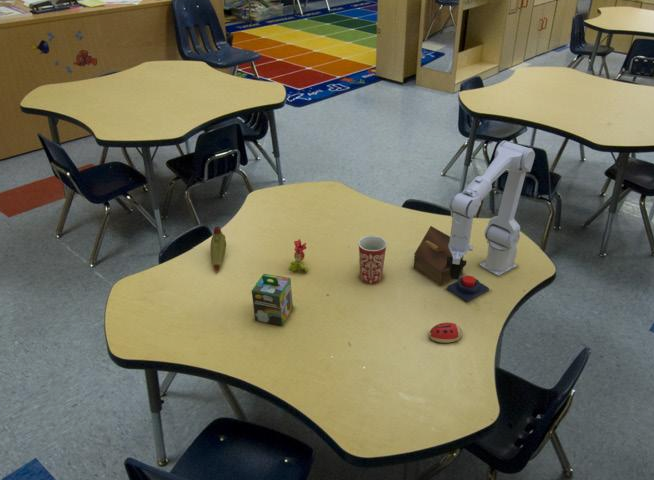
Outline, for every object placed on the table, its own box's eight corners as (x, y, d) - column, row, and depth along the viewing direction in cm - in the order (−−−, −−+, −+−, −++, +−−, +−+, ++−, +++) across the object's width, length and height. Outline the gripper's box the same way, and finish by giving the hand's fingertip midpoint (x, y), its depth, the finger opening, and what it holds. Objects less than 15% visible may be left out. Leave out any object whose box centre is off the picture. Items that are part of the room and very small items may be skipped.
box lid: (431, 226, 192) (425, 222, 189) (460, 242, 183) (453, 238, 181) (414, 254, 193) (408, 251, 190) (442, 272, 185) (436, 269, 182)
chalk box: (293, 308, 179) (291, 268, 171) (282, 326, 172) (279, 286, 164) (265, 302, 182) (262, 263, 174) (253, 320, 174) (249, 280, 167)
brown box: (435, 258, 201) (436, 245, 198) (462, 274, 192) (464, 261, 190) (413, 268, 196) (414, 255, 193) (440, 286, 187) (441, 272, 185)
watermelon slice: (466, 341, 165) (467, 331, 163) (433, 347, 163) (434, 337, 161) (456, 326, 171) (457, 316, 169) (424, 331, 169) (425, 322, 167)
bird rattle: (289, 268, 201) (288, 274, 192) (289, 236, 199) (287, 240, 190) (307, 268, 201) (307, 274, 192) (307, 236, 199) (306, 240, 190)
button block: (468, 278, 191) (469, 270, 189) (488, 290, 185) (489, 283, 183) (446, 289, 186) (447, 281, 184) (467, 302, 180) (468, 295, 178)
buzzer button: (468, 278, 186) (468, 273, 185) (477, 284, 183) (478, 279, 182) (459, 282, 184) (459, 278, 183) (469, 288, 181) (469, 284, 180)
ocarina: (224, 274, 195) (221, 248, 190) (208, 274, 195) (205, 249, 190) (228, 242, 212) (225, 218, 207) (213, 242, 212) (210, 219, 207)
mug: (384, 286, 188) (386, 251, 181) (356, 284, 189) (357, 249, 182) (386, 264, 198) (387, 230, 191) (359, 262, 199) (360, 228, 192)
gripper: (472, 247, 162) (467, 287, 169) (476, 222, 174) (471, 260, 181) (447, 243, 164) (442, 283, 171) (452, 219, 176) (448, 256, 183)
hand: (455, 271), depth 176 cm, fingers open, 7 cm apart
